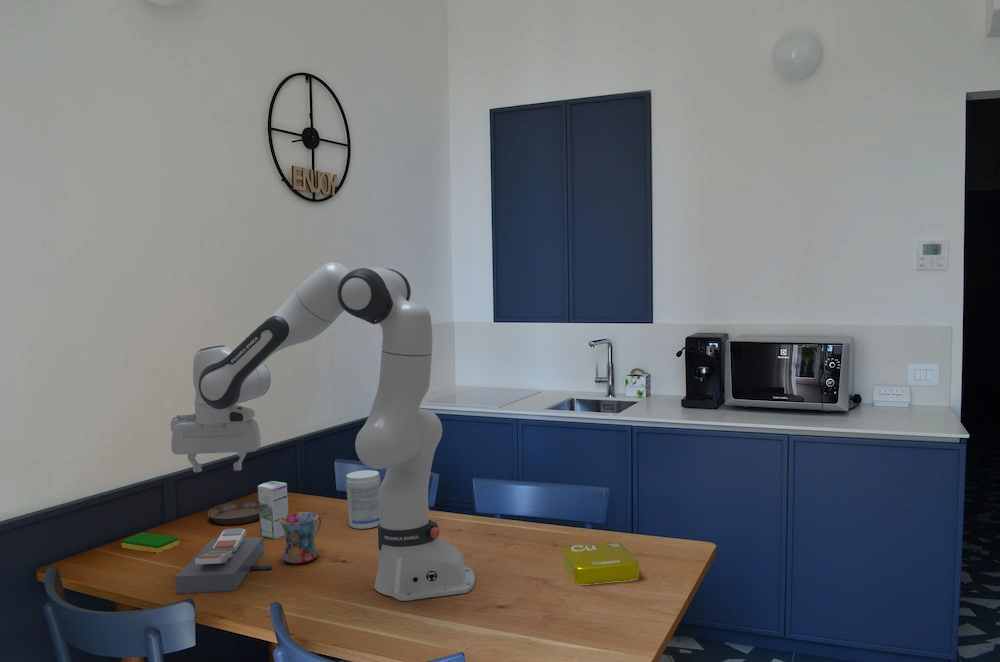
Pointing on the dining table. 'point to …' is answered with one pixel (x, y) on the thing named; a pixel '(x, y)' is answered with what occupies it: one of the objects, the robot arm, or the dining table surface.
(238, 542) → the rocker
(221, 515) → the plant saucer
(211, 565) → the switch panel
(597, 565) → the element tile
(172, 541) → the dish sponge
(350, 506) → the supplement tub
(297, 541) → the mug
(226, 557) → the rocker
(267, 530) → the syrup box
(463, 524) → the dining table surface
